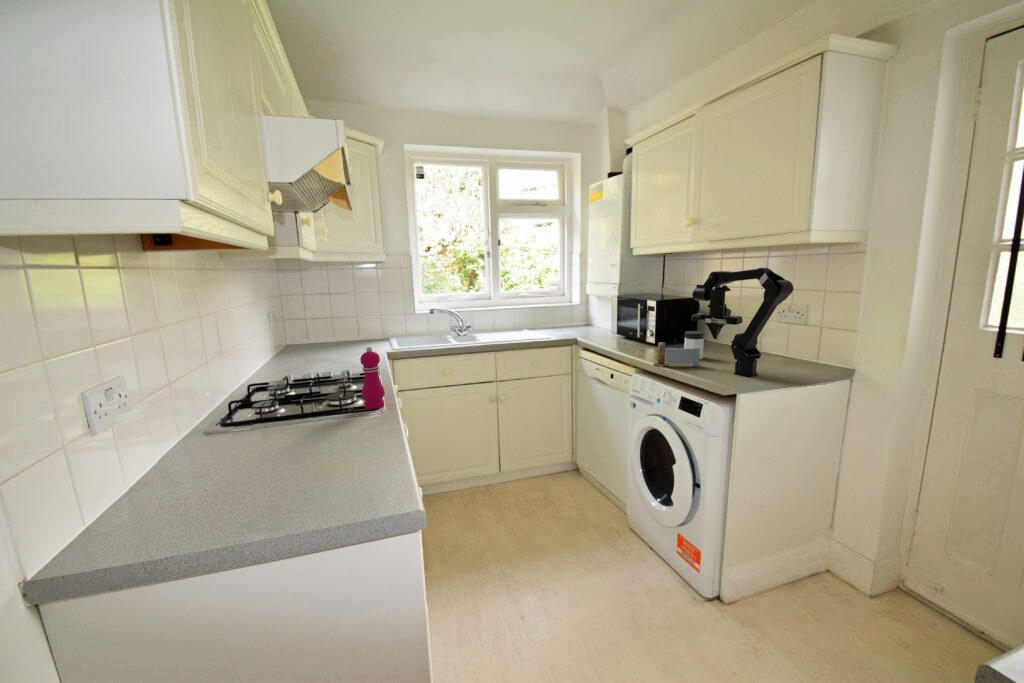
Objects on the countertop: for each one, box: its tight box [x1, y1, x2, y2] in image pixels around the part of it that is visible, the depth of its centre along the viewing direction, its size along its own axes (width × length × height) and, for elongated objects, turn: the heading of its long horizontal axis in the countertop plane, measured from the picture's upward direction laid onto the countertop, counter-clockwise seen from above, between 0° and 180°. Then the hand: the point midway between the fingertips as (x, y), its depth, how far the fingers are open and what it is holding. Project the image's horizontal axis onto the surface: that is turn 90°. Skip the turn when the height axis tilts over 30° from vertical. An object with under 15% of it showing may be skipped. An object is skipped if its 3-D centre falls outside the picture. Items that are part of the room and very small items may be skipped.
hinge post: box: [653, 342, 670, 368], centre depth 179 cm, size 4×4×10 cm
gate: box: [665, 347, 700, 367], centre depth 178 cm, size 13×2×8 cm, turn 79°
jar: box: [683, 330, 705, 360], centre depth 192 cm, size 9×8×12 cm
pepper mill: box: [360, 346, 386, 410], centre depth 135 cm, size 7×7×20 cm
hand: (715, 339), depth 174 cm, fingers closed
